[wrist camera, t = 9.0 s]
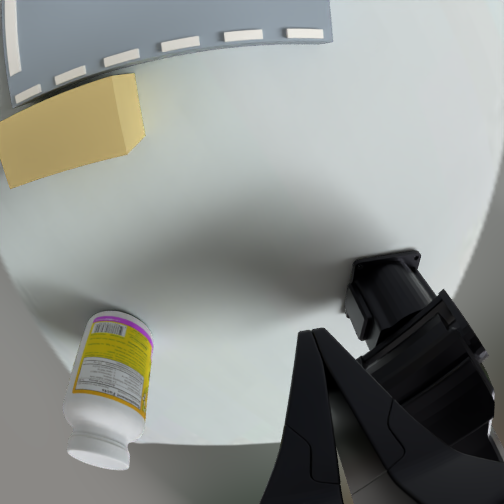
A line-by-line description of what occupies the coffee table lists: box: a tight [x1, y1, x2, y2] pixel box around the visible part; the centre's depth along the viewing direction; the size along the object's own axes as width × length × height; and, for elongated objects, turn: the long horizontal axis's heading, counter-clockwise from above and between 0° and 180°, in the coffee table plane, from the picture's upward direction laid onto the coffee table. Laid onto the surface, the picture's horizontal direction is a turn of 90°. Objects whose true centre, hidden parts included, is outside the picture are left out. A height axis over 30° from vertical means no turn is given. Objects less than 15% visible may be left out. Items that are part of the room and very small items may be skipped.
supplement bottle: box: [63, 311, 154, 470], centre depth 20 cm, size 7×7×13 cm
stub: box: [0, 73, 146, 189], centre depth 13 cm, size 8×4×4 cm, turn 95°
